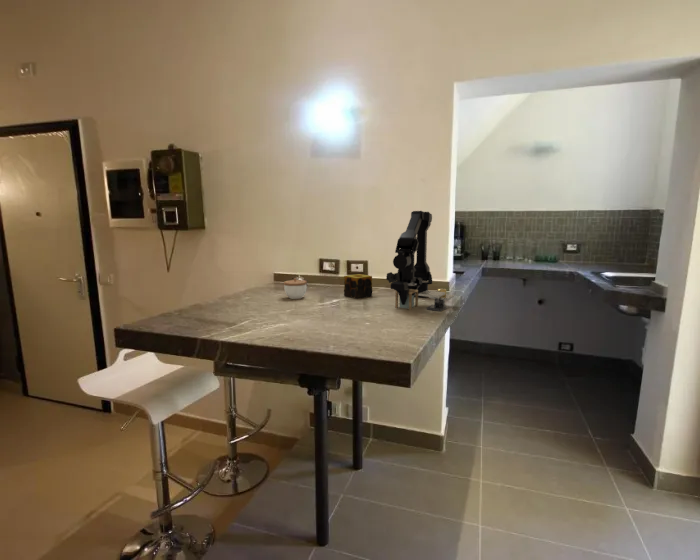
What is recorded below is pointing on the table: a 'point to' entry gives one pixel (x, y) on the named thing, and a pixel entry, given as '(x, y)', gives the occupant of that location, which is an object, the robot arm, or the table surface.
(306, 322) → the table surface
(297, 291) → the lidded jar
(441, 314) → the table surface
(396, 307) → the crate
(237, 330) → the table surface
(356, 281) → the candle
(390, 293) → the table surface
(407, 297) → the block
